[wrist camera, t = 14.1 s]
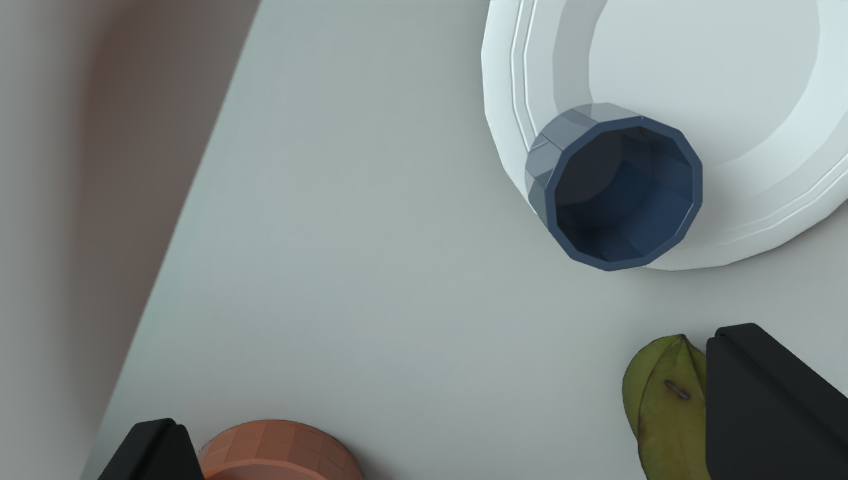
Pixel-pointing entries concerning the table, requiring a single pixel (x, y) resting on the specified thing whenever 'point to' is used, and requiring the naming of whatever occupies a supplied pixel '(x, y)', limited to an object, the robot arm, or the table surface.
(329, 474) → the big bowl
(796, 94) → the plate
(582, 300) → the table surface
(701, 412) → the fruit
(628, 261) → the small bowl
